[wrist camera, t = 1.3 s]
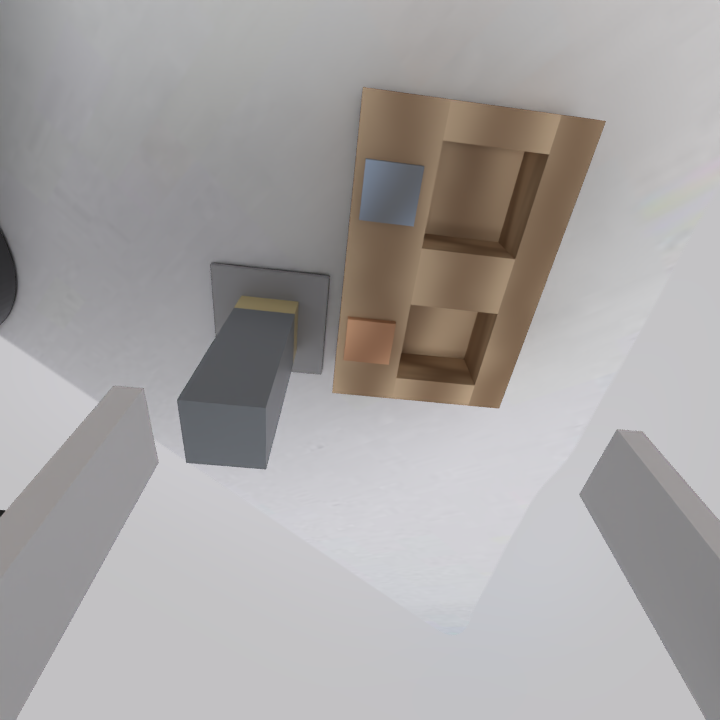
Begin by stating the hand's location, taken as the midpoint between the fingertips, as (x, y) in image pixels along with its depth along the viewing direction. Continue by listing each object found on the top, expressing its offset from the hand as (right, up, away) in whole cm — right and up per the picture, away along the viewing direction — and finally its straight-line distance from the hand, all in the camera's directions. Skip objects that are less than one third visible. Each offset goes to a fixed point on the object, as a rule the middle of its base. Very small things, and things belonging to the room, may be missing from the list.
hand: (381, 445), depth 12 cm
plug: (-7, +5, +18) cm, 20 cm away
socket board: (+4, +9, +16) cm, 19 cm away
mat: (-7, +5, +19) cm, 21 cm away
